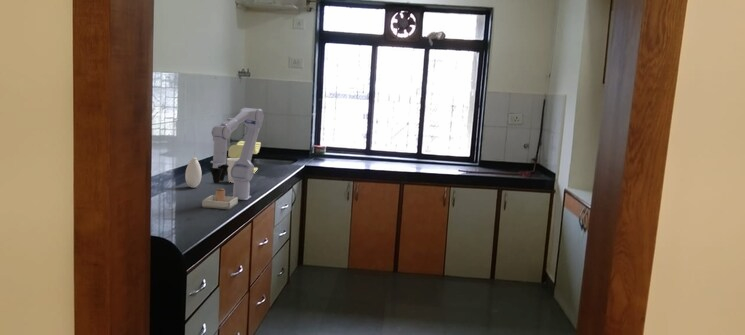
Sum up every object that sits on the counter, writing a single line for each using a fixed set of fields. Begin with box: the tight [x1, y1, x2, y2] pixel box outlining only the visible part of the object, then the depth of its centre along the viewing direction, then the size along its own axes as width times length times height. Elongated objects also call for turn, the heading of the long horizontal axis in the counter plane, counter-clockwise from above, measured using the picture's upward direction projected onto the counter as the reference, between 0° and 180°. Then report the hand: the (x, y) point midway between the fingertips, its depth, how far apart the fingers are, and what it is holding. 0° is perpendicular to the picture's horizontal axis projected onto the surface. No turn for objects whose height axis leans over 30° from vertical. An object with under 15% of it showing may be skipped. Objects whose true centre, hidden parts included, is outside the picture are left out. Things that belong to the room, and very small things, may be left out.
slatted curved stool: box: [227, 140, 262, 174], centre depth 365 cm, size 30×16×18 cm, turn 5°
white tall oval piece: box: [184, 152, 203, 189], centre depth 292 cm, size 8×8×18 cm
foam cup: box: [226, 157, 239, 184], centre depth 320 cm, size 10×9×13 cm
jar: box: [215, 187, 226, 202], centre depth 255 cm, size 4×4×7 cm
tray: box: [201, 194, 239, 210], centre depth 256 cm, size 14×12×3 cm
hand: (218, 182), depth 257 cm, fingers open, 7 cm apart
